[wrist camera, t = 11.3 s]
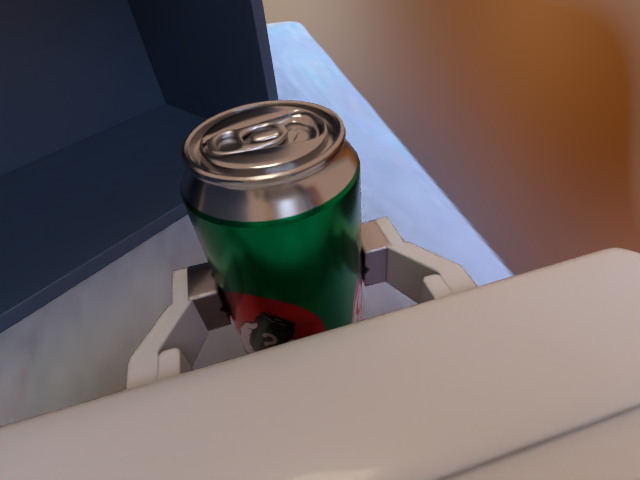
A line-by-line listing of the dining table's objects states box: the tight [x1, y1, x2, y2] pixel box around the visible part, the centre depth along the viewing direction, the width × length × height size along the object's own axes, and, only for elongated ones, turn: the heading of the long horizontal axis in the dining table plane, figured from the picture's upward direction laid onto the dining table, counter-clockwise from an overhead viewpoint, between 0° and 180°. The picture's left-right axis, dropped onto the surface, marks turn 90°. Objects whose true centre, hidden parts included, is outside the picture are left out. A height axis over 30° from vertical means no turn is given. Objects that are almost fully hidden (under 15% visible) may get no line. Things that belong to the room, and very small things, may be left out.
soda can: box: [180, 100, 363, 354], centre depth 14 cm, size 5×5×12 cm
